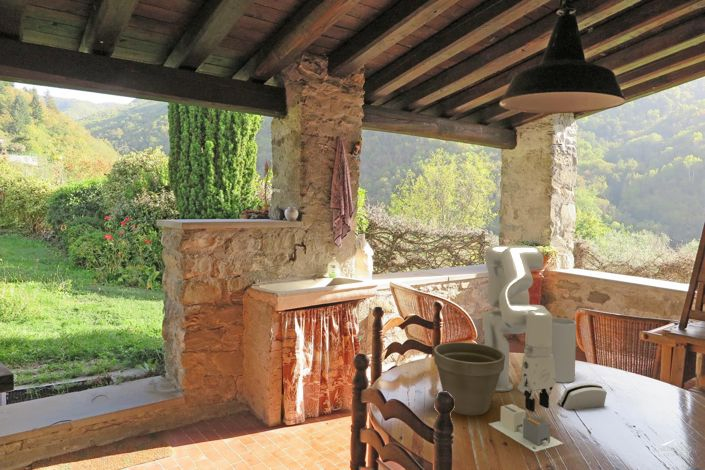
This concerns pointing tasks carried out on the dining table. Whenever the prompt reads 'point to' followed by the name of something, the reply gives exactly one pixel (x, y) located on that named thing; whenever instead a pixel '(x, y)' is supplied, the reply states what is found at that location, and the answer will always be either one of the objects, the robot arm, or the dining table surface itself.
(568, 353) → the cylinder vase
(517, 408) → the cream module
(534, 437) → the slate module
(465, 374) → the plant pot
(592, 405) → the off-white grooved curved block
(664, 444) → the dining table surface
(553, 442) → the panel
